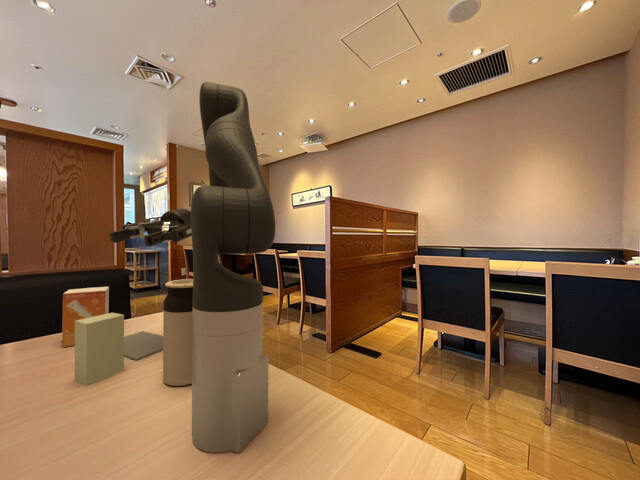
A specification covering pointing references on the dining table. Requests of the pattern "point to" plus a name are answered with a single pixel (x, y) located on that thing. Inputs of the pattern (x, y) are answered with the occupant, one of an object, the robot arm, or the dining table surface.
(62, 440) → the dining table surface
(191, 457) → the dining table surface
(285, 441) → the dining table surface
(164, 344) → the travel mug
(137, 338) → the rubber mat
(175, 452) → the dining table surface
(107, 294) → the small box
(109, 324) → the tall tan pillar block
